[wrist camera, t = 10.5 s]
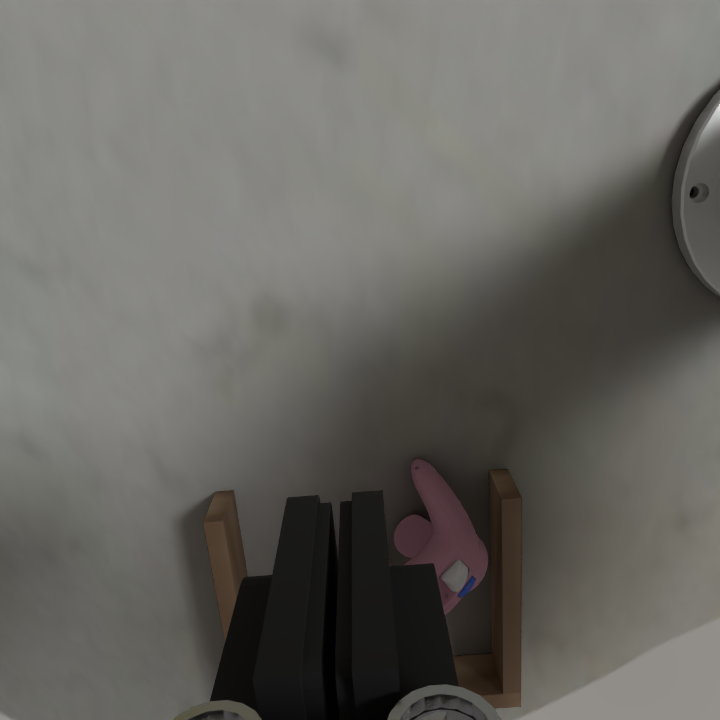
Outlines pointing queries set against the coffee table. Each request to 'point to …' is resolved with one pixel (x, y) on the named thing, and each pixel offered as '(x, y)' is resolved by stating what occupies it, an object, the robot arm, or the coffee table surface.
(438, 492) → the video game controller
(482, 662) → the dock bay
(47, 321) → the coffee table surface
